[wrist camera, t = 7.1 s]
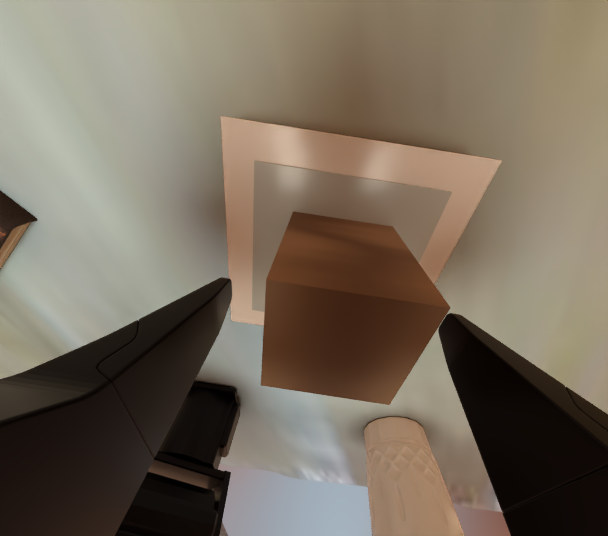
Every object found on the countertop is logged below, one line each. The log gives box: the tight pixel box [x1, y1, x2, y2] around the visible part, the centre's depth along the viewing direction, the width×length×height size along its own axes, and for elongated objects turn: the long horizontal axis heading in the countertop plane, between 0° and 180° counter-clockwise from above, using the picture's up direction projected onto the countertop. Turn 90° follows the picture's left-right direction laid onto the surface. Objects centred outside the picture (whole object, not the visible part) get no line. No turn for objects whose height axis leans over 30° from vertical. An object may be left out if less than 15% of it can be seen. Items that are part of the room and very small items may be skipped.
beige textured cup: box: [364, 417, 465, 536], centre depth 23 cm, size 8×8×10 cm
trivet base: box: [221, 116, 502, 326], centre depth 14 cm, size 12×12×3 cm
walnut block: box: [261, 211, 450, 405], centre depth 10 cm, size 5×5×6 cm
